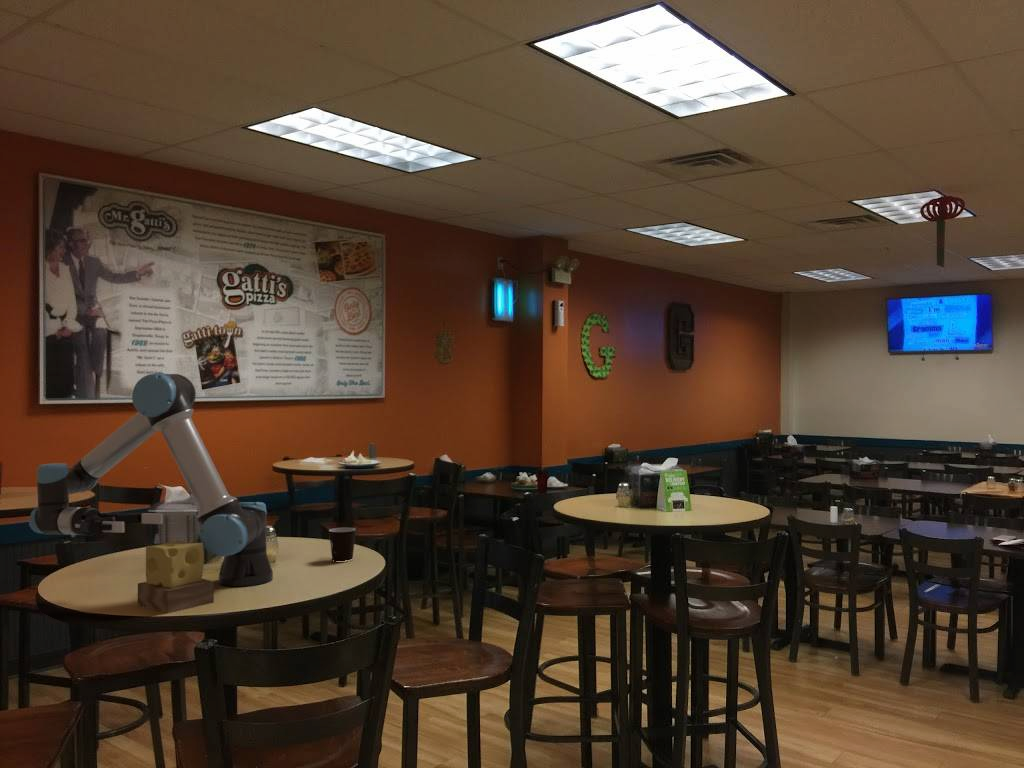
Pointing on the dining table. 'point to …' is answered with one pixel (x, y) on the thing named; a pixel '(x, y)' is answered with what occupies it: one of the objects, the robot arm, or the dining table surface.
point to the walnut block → (176, 596)
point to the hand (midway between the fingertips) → (143, 522)
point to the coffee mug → (342, 543)
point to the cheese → (174, 563)
